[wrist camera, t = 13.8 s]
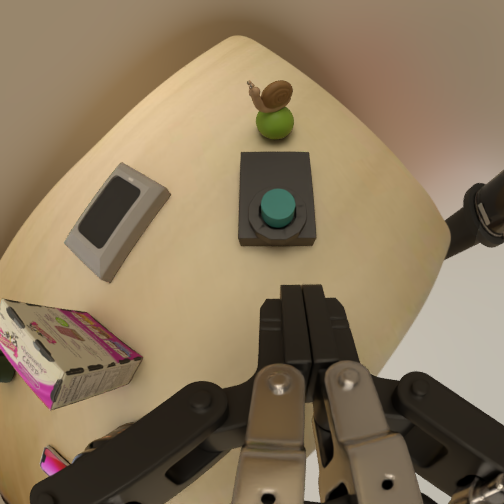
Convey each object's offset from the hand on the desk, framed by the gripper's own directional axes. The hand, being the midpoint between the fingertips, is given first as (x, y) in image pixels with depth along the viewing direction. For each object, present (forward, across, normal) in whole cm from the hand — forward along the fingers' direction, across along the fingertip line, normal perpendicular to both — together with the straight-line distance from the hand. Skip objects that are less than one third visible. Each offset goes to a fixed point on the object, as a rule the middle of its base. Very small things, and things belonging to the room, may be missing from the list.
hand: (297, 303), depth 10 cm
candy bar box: (+13, +23, +20) cm, 33 cm away
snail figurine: (+36, 0, -2) cm, 36 cm away
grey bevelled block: (+26, +23, +8) cm, 35 cm away
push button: (+21, 0, +5) cm, 22 cm away
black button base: (+27, 0, +6) cm, 28 cm away
